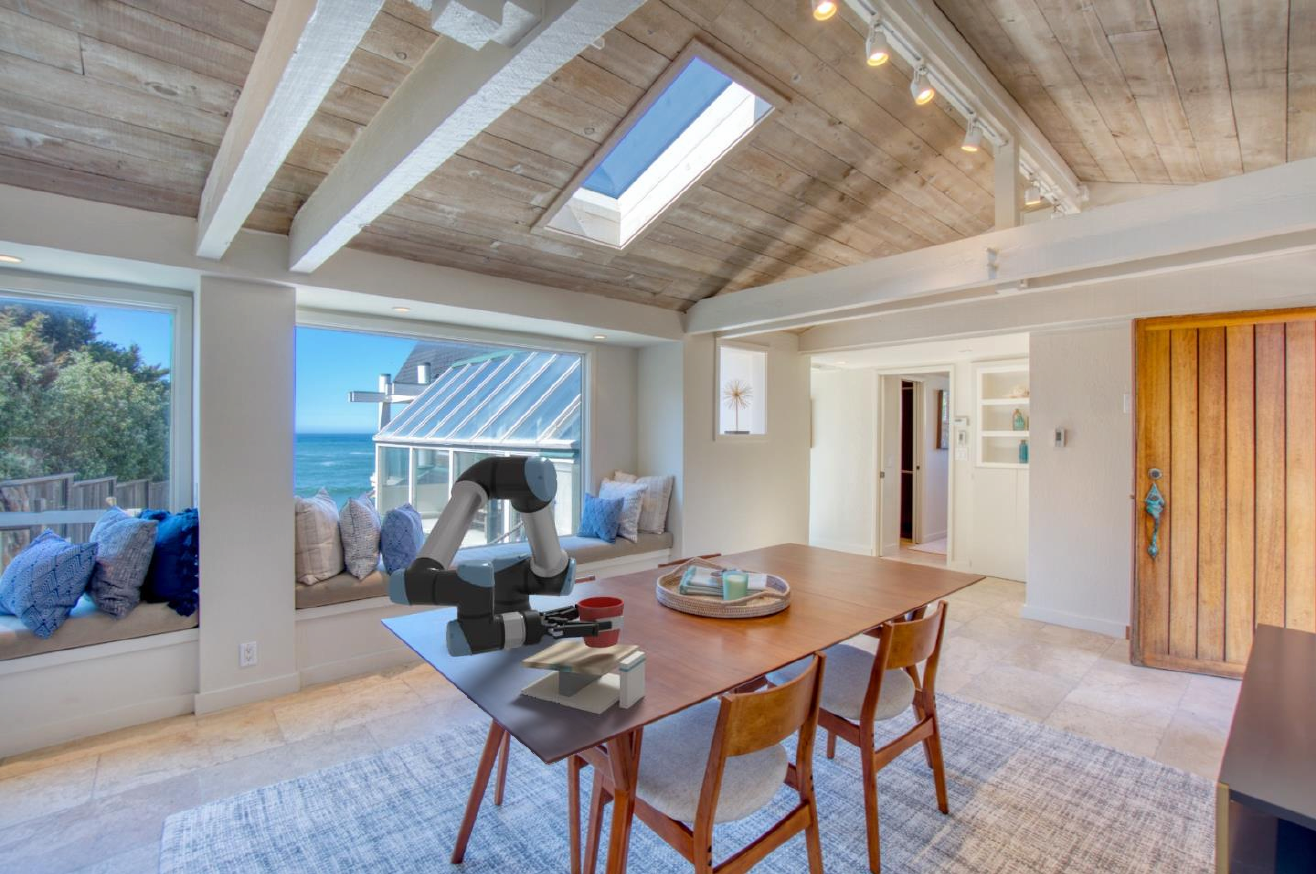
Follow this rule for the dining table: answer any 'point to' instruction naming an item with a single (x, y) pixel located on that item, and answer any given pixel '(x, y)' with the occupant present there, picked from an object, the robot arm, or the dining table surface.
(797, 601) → the dining table surface
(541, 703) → the dining table surface
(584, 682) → the stand
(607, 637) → the flower pot
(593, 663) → the plate
